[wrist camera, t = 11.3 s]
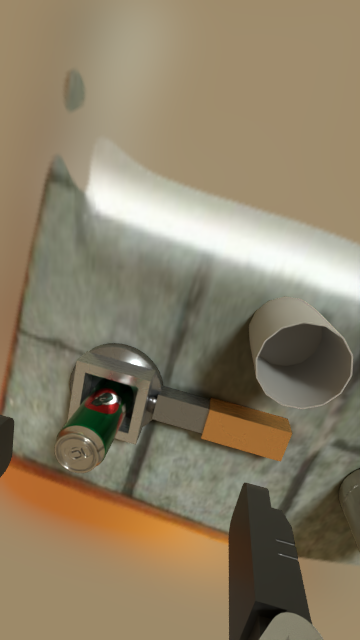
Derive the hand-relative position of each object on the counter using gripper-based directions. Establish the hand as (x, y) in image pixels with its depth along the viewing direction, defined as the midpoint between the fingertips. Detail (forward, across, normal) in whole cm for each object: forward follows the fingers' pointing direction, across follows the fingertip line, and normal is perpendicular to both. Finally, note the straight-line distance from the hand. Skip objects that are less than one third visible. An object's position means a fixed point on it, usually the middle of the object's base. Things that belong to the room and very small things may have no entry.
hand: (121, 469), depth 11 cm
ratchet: (+30, -1, +15) cm, 33 cm away
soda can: (+28, +7, +15) cm, 33 cm away
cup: (+30, -11, +2) cm, 32 cm away
